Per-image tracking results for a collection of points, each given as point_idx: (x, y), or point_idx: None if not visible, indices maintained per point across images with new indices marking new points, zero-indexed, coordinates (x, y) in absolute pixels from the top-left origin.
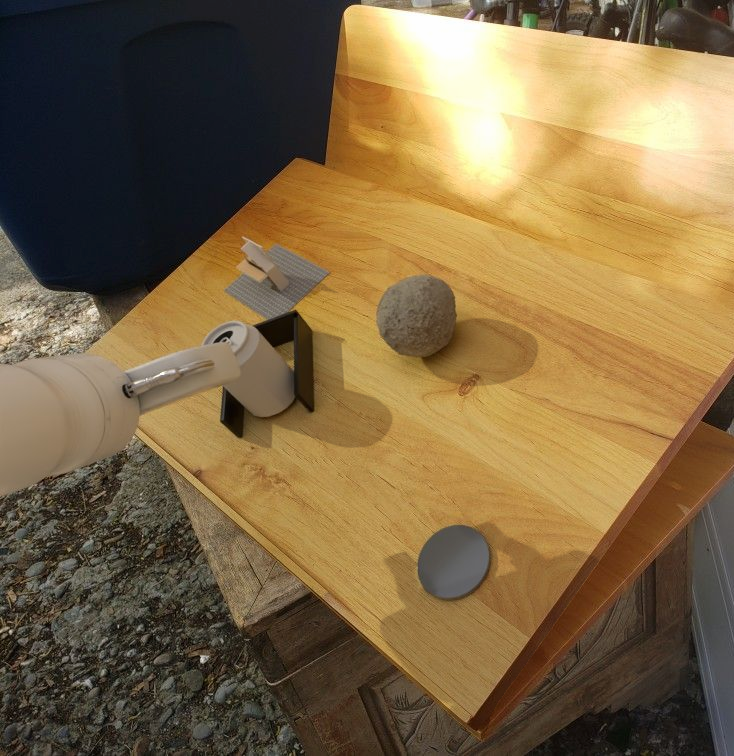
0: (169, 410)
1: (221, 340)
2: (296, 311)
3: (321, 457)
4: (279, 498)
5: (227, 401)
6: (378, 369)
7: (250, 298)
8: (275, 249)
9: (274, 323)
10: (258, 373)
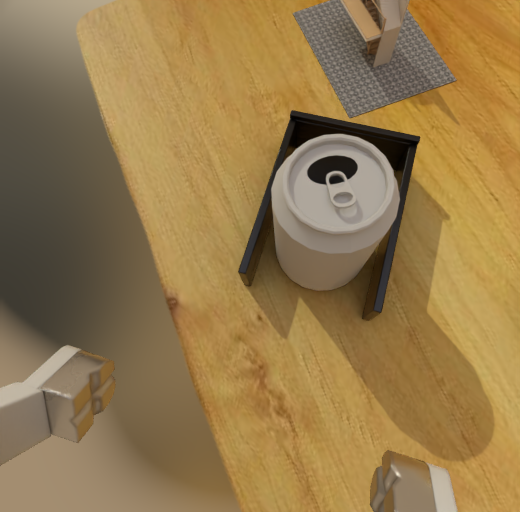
0: (165, 163)
1: (330, 173)
2: (419, 140)
3: (357, 418)
4: (273, 446)
5: (259, 236)
6: (492, 315)
7: (326, 50)
8: None
9: (373, 137)
10: (352, 262)
